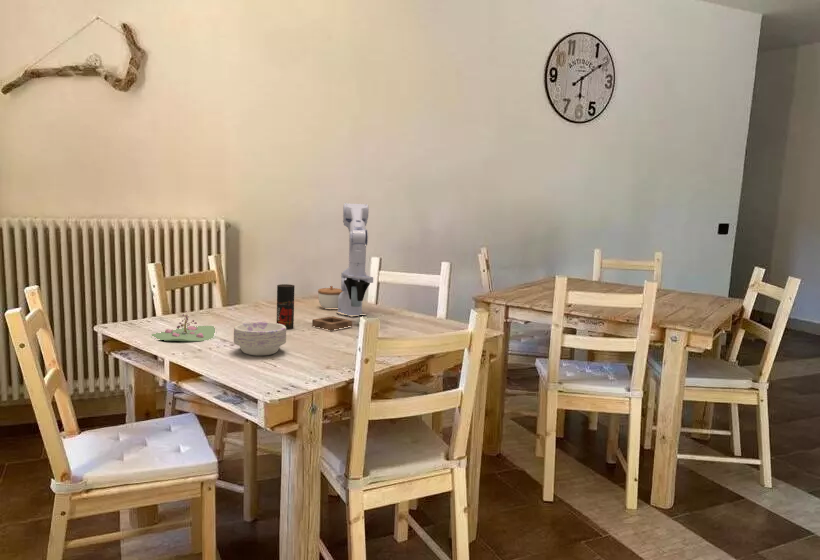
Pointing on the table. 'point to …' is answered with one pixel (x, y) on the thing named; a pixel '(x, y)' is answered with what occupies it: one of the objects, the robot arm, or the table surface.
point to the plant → (187, 332)
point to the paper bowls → (259, 337)
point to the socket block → (331, 323)
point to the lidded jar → (329, 297)
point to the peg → (354, 297)
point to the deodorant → (285, 305)
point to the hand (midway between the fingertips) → (356, 300)
